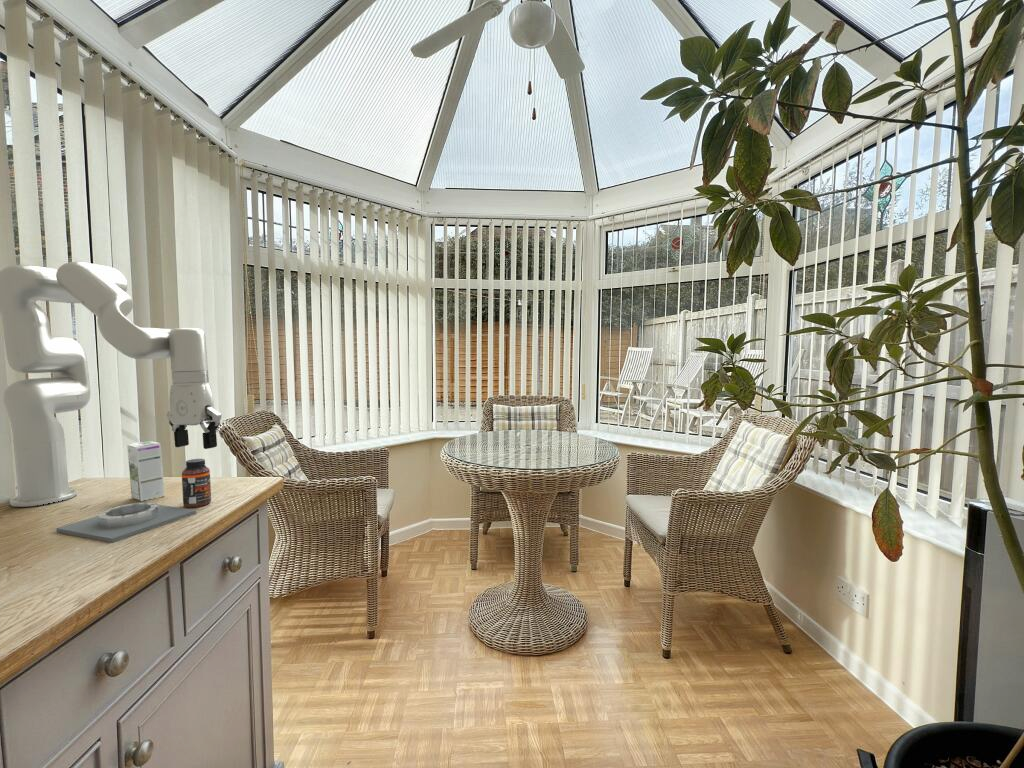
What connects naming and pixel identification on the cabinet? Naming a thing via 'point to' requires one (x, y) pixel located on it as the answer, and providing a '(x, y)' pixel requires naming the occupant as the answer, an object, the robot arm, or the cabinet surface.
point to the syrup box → (146, 470)
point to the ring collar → (117, 520)
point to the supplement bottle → (196, 483)
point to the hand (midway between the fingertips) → (196, 447)
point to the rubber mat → (112, 534)
